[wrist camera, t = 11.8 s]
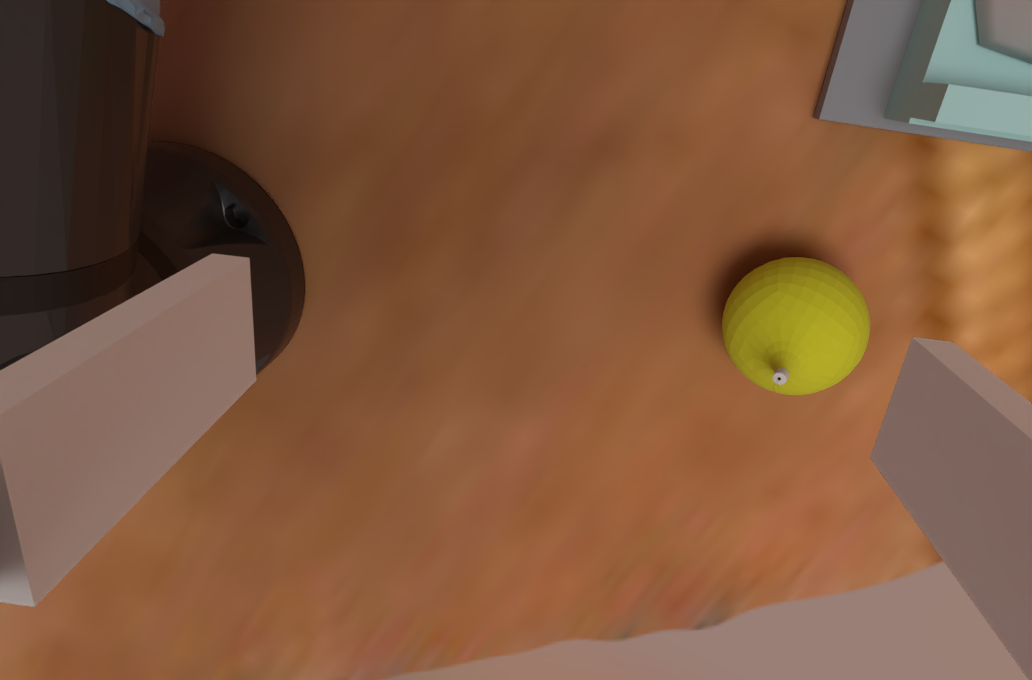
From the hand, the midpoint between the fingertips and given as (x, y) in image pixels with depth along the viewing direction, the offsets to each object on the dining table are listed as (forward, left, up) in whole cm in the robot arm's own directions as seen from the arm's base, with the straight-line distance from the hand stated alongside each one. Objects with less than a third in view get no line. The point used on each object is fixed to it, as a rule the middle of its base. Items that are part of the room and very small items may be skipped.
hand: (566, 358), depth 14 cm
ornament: (+12, -6, -26) cm, 29 cm away
